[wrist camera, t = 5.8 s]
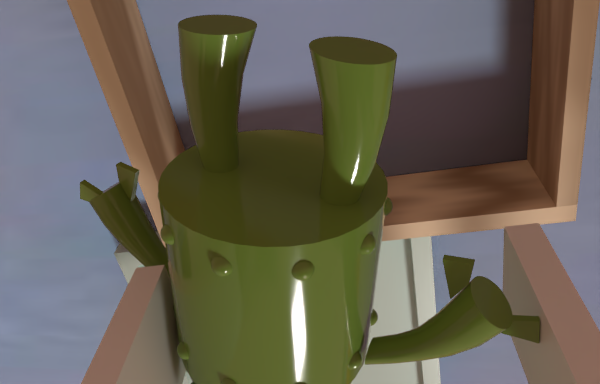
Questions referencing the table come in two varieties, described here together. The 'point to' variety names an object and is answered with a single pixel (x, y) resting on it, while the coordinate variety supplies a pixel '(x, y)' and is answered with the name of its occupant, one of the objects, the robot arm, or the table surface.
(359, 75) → the character figure
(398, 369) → the tray
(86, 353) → the table surface
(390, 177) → the bin
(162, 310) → the robot arm
